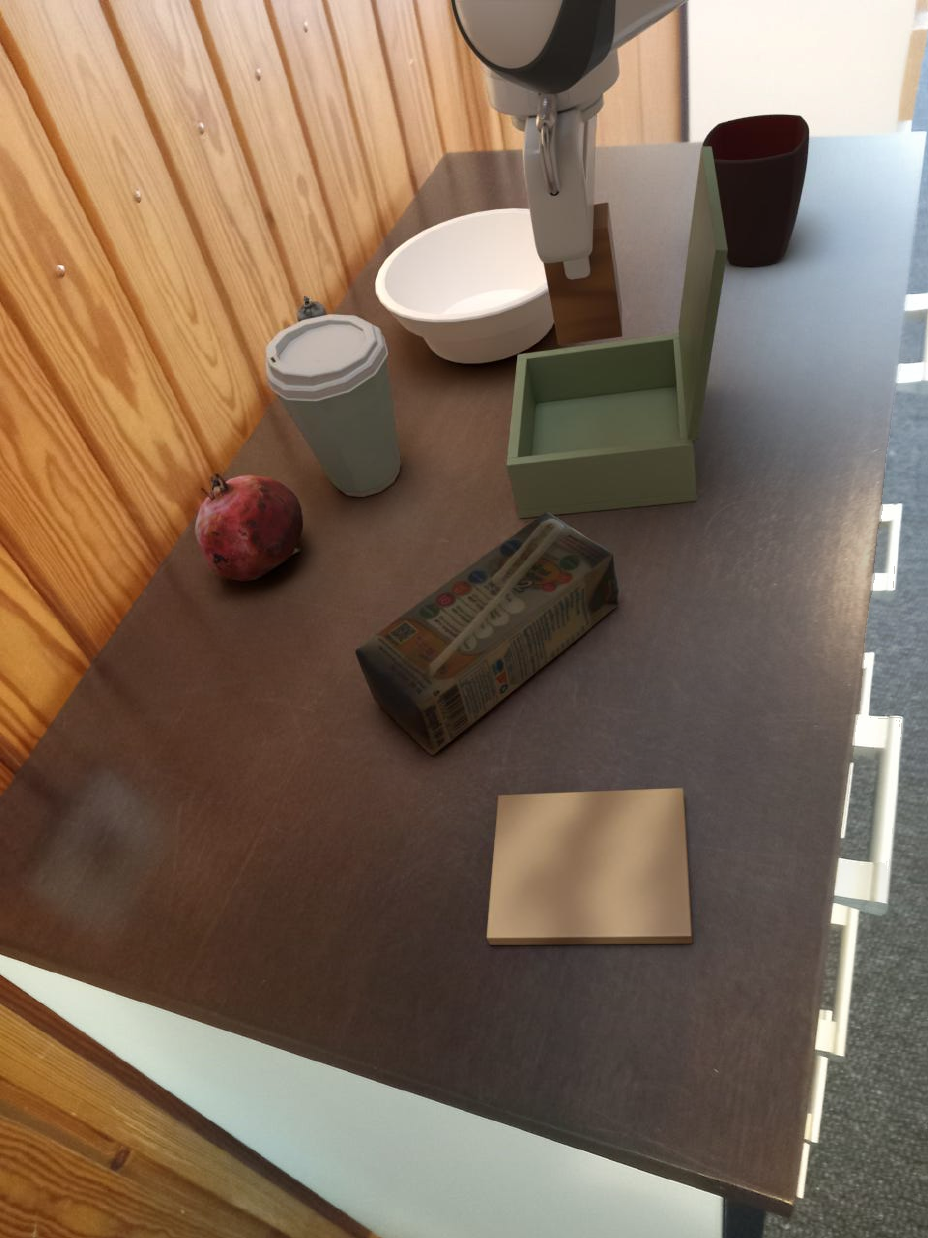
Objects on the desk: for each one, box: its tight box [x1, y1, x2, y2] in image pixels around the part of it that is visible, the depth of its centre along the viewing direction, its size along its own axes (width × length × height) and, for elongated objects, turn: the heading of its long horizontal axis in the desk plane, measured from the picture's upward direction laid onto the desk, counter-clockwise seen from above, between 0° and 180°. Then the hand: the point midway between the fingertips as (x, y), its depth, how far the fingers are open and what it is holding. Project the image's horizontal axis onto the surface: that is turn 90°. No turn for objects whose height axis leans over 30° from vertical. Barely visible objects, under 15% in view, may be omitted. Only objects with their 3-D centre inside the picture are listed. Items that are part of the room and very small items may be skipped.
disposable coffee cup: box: [264, 313, 402, 498], centre depth 91 cm, size 11×11×15 cm
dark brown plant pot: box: [701, 113, 810, 267], centre depth 105 cm, size 10×14×12 cm
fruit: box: [194, 471, 304, 582], centre depth 88 cm, size 9×10×10 cm
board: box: [486, 787, 694, 946], centre depth 64 cm, size 12×10×1 cm
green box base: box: [505, 332, 698, 519], centre depth 89 cm, size 15×16×6 cm
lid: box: [677, 146, 728, 440], centre depth 79 cm, size 16×16×1 cm
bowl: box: [374, 207, 555, 364], centre depth 106 cm, size 21×21×8 cm
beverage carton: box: [354, 512, 620, 756], centre depth 75 cm, size 8×19×7 cm, turn 130°
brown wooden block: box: [543, 202, 623, 346], centre depth 79 cm, size 5×4×9 cm
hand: (579, 254), depth 77 cm, fingers closed on brown wooden block, 4 cm apart
